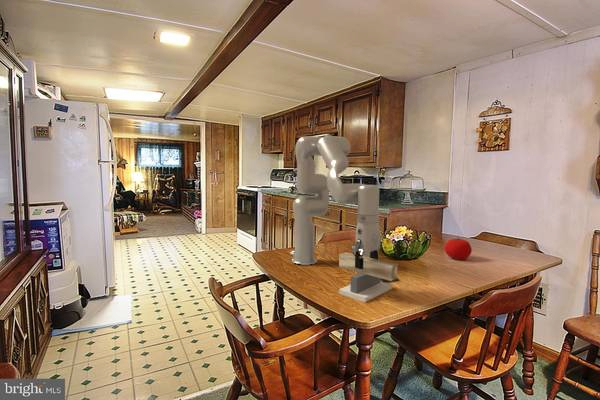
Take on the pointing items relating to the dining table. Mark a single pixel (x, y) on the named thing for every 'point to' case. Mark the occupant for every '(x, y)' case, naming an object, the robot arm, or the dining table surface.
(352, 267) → the beam
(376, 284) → the ridge stand
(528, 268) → the dining table surface
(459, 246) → the tomato
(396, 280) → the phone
